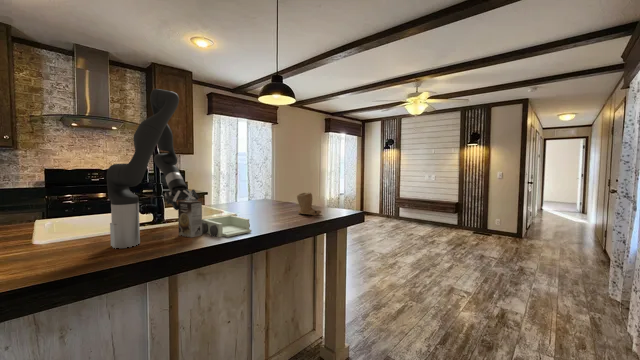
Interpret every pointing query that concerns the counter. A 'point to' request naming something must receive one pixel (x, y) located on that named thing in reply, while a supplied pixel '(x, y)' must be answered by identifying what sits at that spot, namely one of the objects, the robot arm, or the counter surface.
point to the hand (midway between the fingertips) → (186, 208)
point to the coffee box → (190, 218)
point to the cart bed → (226, 226)
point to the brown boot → (306, 204)
